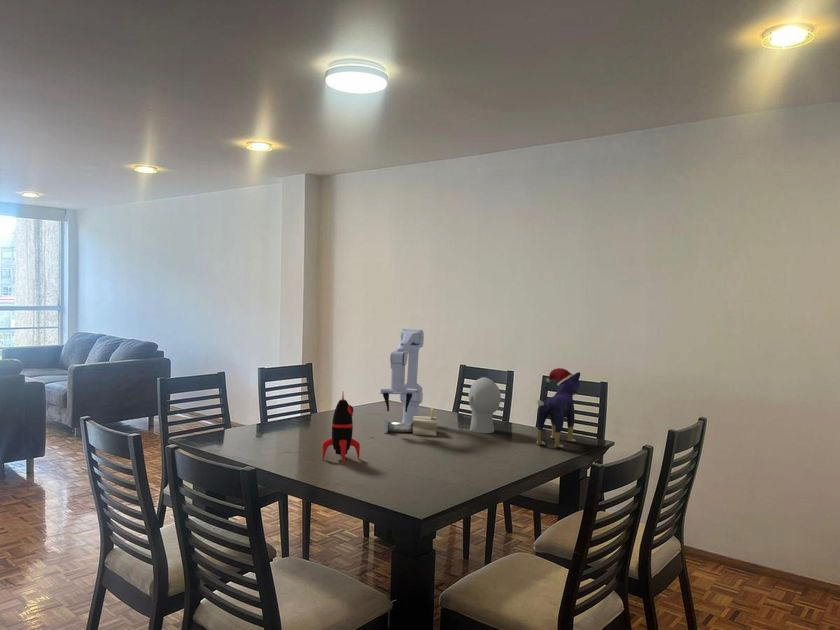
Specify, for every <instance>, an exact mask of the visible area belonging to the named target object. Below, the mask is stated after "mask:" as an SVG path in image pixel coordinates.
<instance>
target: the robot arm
mask: <svg viewBox="0 0 840 630" xmlns="http://www.w3.org/2000/svg"><path fill="white" fill-rule="evenodd" d="M424 335H425V333H424V330H423V329H412V328H411V329H410V328H409V329H408V328H403V329H401V331H400V340H401V342H399V343H398V344H397V346H396V348H395V350H393V351H392V352H391V353H390V358H389V361H390V369H391V379H390V388H380V395H382V396H383V399H384V402H385V406H386V411H387V412H390V404H389V402H390V395H399V401H400V402H401V403H402V405H403V409H402V410H403V411H402V413H403V415H402V419H401V423H413V416H420V415H419V414H420V412H419V411H420V405H421V403H423V400H424V399H423V397H424V393H423V387H422V386H421V385H420V384H419V383H418V373H419V372H418V367H419V351H420V349H421V348H422V347H424V337H425V336H424ZM406 365H407V375H406ZM406 376H407V377H406Z"/></svg>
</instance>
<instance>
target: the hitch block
mask: <svg viewBox="0 0 840 630" xmlns="http://www.w3.org/2000/svg"><path fill="white" fill-rule="evenodd" d="M437 424H438V420H437V416H433V420H431V415H430V416H428V415H427V416H426V415H425V416H424V415H419V416H413V432H412V435H413V436H437V427H438V426H437Z"/></svg>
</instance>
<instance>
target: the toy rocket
mask: <svg viewBox="0 0 840 630" xmlns="http://www.w3.org/2000/svg"><path fill="white" fill-rule="evenodd" d="M341 396H342V397H341V399H339V400H338V401H337V404H336V406H335V409H334V412H333V417H332V422H331V437H330V438H328V439H326V440H324V441H323V443H322V460H325V455H326V452H327V449H328V448H329V447H330V446H332V447H333V448H332V449H333V450H334V451H335V455H341V460H342V464H345V461H346V455H347V454H348V451H349V450H350V449H351V446H352V447H354V448H355V449H354V450H355V451H356V456H357V460H360V452H361V451H360V449H361V444H360V442H359V441H358V440H356V439H354V438H353V429H354V428H353V427H354V425H353V422H354V421H353V415H354V407H353V406H352V405H351V404H349V403H348V401H347V399H345V397H344V396H345V395H344V392H342V395H341Z"/></svg>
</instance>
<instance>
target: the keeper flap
mask: <svg viewBox="0 0 840 630" xmlns="http://www.w3.org/2000/svg"><path fill="white" fill-rule="evenodd" d="M430 416H431V420H433V417H434V408H433V407H430Z"/></svg>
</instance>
